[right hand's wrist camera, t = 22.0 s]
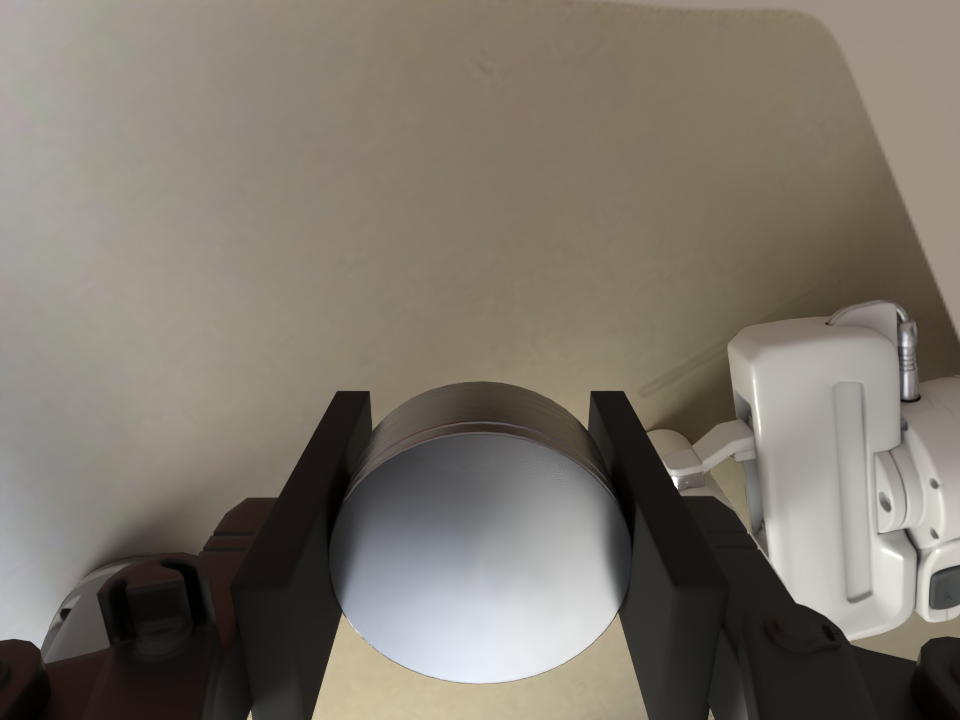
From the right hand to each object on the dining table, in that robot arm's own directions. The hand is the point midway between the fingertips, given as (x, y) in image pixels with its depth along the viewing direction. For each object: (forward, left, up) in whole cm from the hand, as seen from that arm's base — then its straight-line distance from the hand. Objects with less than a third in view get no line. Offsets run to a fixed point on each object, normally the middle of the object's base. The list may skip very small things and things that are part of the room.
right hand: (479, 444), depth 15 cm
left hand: (-15, -11, -18) cm, 25 cm away
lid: (0, 0, +4) cm, 4 cm away
